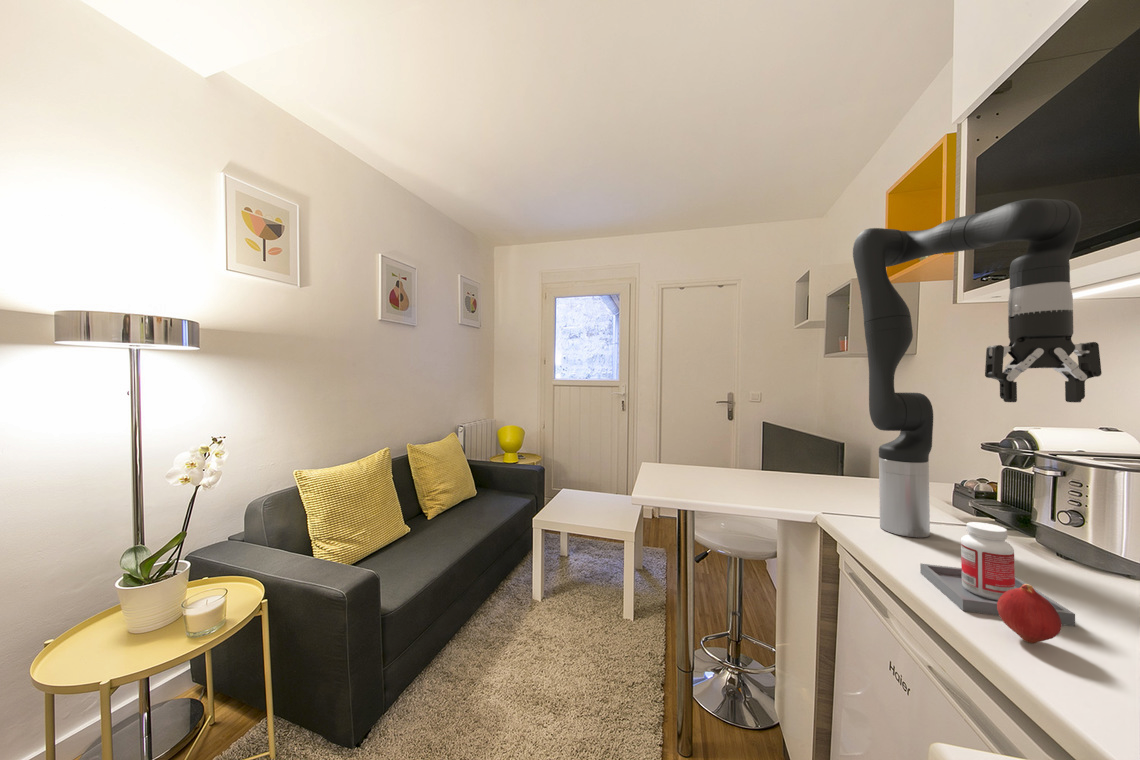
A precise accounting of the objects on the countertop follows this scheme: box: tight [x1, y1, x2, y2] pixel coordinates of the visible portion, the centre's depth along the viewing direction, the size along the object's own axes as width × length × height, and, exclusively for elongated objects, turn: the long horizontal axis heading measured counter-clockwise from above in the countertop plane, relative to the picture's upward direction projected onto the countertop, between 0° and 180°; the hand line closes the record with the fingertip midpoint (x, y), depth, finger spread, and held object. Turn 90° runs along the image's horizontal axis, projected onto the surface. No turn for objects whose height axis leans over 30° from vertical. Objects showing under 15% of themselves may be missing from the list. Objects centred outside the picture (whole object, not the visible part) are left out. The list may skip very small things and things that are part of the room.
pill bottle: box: [960, 521, 1016, 601], centre depth 66 cm, size 6×6×11 cm
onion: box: [997, 583, 1063, 644], centre depth 55 cm, size 6×6×8 cm
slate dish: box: [919, 562, 1076, 627], centre depth 66 cm, size 13×13×2 cm
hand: (1040, 402), depth 71 cm, fingers open, 8 cm apart
